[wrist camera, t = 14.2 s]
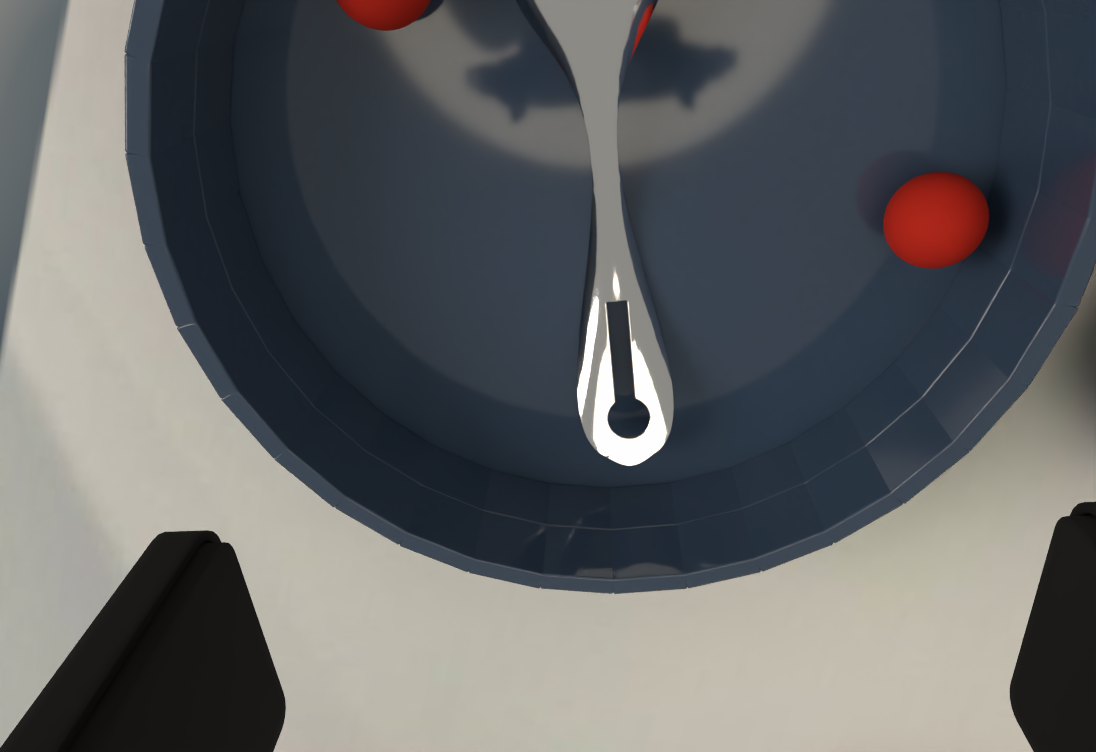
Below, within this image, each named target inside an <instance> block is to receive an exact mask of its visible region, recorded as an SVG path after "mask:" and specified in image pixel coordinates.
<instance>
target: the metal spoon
mask: <svg viewBox="0 0 1096 752" xmlns="http://www.w3.org/2000/svg"><path fill="white" fill-rule="evenodd" d="M515 1H516V3H517V5H518V7H519V8H520V10H521V12H522V13H523V15H524V17H525V18H526V20H527V21H528V23H529V24H530V25H531V27H532V28H533V30H534V31H535V32H536V34H537V35H538V36H539V38H540V39H541V41H542V42H543V43H544V45H545V46H546V47H547V49H548V50H549V51H550V53H551V54H552V55H553V57H554V58H555V60H556V61H557V62H558V64H559V65H560V67H561V68H562V70H563V72H564V73H565V75H566V77H567V78H568V80H569V82H570V84H571V86H572V88H573V90H574V93H575V95H576V97H577V100H578V103H579V105H580V108H581V111H582V115H583V118H584V122H585V126H586V130H587V135H588V141H589V147H590V157H591V170H592V207H591V225H590V237H589V248H588V258H587V268H586V277H585V286H584V295H583V304H582V314H581V324H580V335H579V348H578V367H577V391H578V405H579V413H580V418H581V423H582V426H583V429H584V432H585V434H586V437H587V439H588V441H589V442H590V444H591V445H592V446H593V448H594V449H595V450H596V451H597V452H599V453H600V454H601V455H603V456H605V457H607V458H610V459H611V460H613V461H615V462H617V463H620V464H623V465H629V466H630V465H636V464H639V463H641V462H643V461H644V460H646V459H647V458H649V457H650V456H651V455H653V454H654V453H656V452H657V451H658V450H660V449H661V448H662V446H663V445H664V444H665V442H666V441H667V439H668V437H669V434H670V431H671V427H672V422H673V412H674V400H673V388H672V380H671V373H670V368H669V362H668V358H667V353H666V349H665V344H664V340H663V336H662V332H661V328H660V325H659V321H658V317H657V314H656V310H655V306H654V303H653V300H652V296H651V293H650V289H649V286H648V282H647V279H646V276H645V272H644V269H643V265H642V262H641V258H640V255H639V251H638V248H637V244H636V241H635V237H634V233H633V230H632V226H631V222H630V218H629V214H628V210H627V206H626V201H625V197H624V192H623V187H622V181H621V175H620V168H619V160H618V149H617V119H618V108H619V101H620V95H621V90H622V86H623V82H624V78H625V75H626V72H627V69H628V66H629V64H630V61H631V58H632V56H633V54H634V51H635V49H636V47H637V45H638V43H639V41H640V39H641V36H642V34H643V32H644V30H645V28H646V26H647V24H648V22H649V20H650V18H651V16H652V14H653V11H654V9H655V7H656V4H657V2H658V0H515ZM620 301H626V303H627V315H628V327H629V339H630V351H631V363H632V375H633V387H634V398H635V399H636V400H638V401H640V402H642V403H643V404H644V405H645V406H646V408H647V410H648V412H649V421H648V424H647V426H646V428H645V429H644V430H643V431H642V432H640V433H639V434H637V435H633V436H624V435H621V434H619V433H617V432H616V431H615V430H614V429H613V428H612V427H611V425H610V423H609V419H608V416H609V412H610V409H611V407H612V406H613V405H614V404H615V403H616V397H615V386H614V375H613V364H612V353H611V342H610V330H609V319H608V308H607V303H608V302H620Z"/></svg>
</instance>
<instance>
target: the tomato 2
mask: <svg viewBox="0 0 1096 752" xmlns="http://www.w3.org/2000/svg"><path fill="white" fill-rule="evenodd" d="M988 223H989V209H988V205H987V202H986V199H985V197H984V195H983V193H982V192H981V190H980V189H979V188H978V187H977V186H976V185H975V184H974V183H973V182H971V181H970V180H969V179H967V178H965V177H963V176H961V175H958V174H955V173H950V172H931V173H926V174H923V175H920V176H917V177H915V178H913V179H911V180H909V181H908V182H906V183H905V184H904V185H902V186H901V187H900V188H899V189H898V190H897V191H896V192H895V194H894V195H893V196H892V198H891V199H890V201H889V203H888V205H887V207H886V210H885V214H884V220H883V229H884V234H885V238H886V241H887V243H888V245H889V247H890V248H891V249H892V251H893V252H894V253H895V254H896V255H897V256H898V257H899V258H900V259H902V260H903V261H905V262H907V263H909V264H911V265H914V266H917V267H921V268H928V269H935V268H943V267H947V266H950V265H953V264H956V263H958V262H960V261H962V260H963V259H965V258H966V257H968V256H969V255H970V254H971V253H972V252H973V251H974V250H975V249H976V248H977V247H978V246H979V244H980V243H981V242H982V240H983V238H984V236H985V233H986V231H987V227H988Z"/></svg>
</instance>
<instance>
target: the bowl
mask: <svg viewBox="0 0 1096 752" xmlns="http://www.w3.org/2000/svg"><path fill="white" fill-rule="evenodd" d="M125 53H127V54H125V151H126V152H127V153H126V160H127V165H128V170H129V175H130V180H131V185H132V190H133V195H134V200H135V205H136V210H137V215H138V220H139V225H140V230H141V235H142V240H143V244H145V250H146V252H147V254H148V257H149V259H150V262H151V264H152V267H153V269H154V272H155V274H156V277H157V279H158V282H159V284H160V287H161V289H162V292H163V294H164V297H165V299H166V302H167V304H168V307H169V309H170V312H171V314H172V317H173V319H174V322H175V324H176V326H178V328H177V329H178V331H179V332H180V334H181V336H182V337H183V339H184V340H185V342H186V344H187V345H188V347H189V348H190V350H191V352H192V353H193V355H194V356H195V358H196V360H197V361H198V363H199V364H200V366H201V368H202V369H203V371H204V373H205V374H206V376H207V377H208V379H209V381H210V382H211V384H212V385H213V387H214V389H215V390H216V392H217V393H218V395H219V397H220V398H222V401H223V402H224V403H225V404H226V405H227V407H228V408H229V409H230V410H231V411H232V412H233V413H234V414H235V416H236V417H237V418H238V419H239V420H240V421H241V422H242V423H243V425H244V426H245V427H246V428H247V429H248V430H249V431H250V432H251V434H252V435H253V436H254V437H255V438H256V439H257V440H258V442H259V443H260V444H261V445H262V446H263V447H264V448H265V449H266V451H267V452H268V453H269V454H270V455H271V456H272V457H273V458H275V460H276V461H277V462H278V463H279V464H281V465H282V466H283V467H284V468H286V469H287V470H288V471H289V472H290V473H292V474H293V475H294V476H295V477H297V478H298V479H299V480H300V481H302V482H303V483H304V484H305V485H306V486H308V487H309V488H310V489H311V490H313V491H314V492H315V493H316V494H318V495H319V496H320V497H321V498H322V499H324V500H325V501H326V502H327V503H329V504H330V505H331V506H332V507H335V508H336V509H338V510H339V511H341V512H343V513H345V514H346V515H348V516H350V517H351V518H353V519H355V520H357V521H358V522H360V523H362V524H364V525H365V526H367V527H369V528H370V529H372V530H374V531H376V532H377V533H379V534H381V535H382V536H384V537H386V538H388V539H389V540H391V541H393V542H395V543H396V544H400V546H402V547H404V548H407V549H409V550H412V551H414V552H417V553H420V554H422V555H425V556H427V557H430V558H432V559H435V560H438V561H440V562H443V563H445V564H448V565H450V566H453V567H455V568H458V569H461V570H463V571H466V572H468V571H469V573H473V574H477V575H481V576H486V577H490V578H495V579H499V580H504V581H508V582H512V583H517V584H521V585H526V586H530V587H535V588H540V587H541V588H542V589H555V590H568V591H582V592H595V593H609V594H611V593H614V594H620V593H634V592H648V591H662V590H675V589H686V588H687V587H688V588H692V587H697V586H701V585H705V584H710V583H714V582H719V581H723V580H728V579H732V578H737V577H741V576H746V575H750V574H755V573H759V572H760V571H765V570H768V569H771V568H773V567H776V566H778V565H781V564H783V563H786V562H789V561H791V560H794V559H796V558H799V557H802V556H804V555H807V554H809V553H812V552H815V551H817V550H820V549H822V548H825V547H828V546H830V545H832V544H833V542H834V543H836V542H838V541H840V540H842V539H843V538H845V537H847V536H849V535H850V534H852V533H854V532H856V531H857V530H859V529H861V528H863V527H864V526H866V525H868V524H870V523H871V522H873V521H875V520H877V519H878V518H880V517H882V516H884V515H885V514H887V513H889V512H891V511H892V510H894V509H896V508H898V507H899V506H901V505H902V504H903V503H904V504H905V503H906V502H908V501H909V500H910V499H911V498H913V497H914V496H915V495H916V494H918V493H919V492H920V491H921V490H923V489H924V488H925V487H926V486H928V485H929V484H930V483H931V482H933V481H934V480H935V479H936V478H938V477H939V476H940V475H941V474H943V473H944V472H945V471H946V470H948V469H949V468H950V467H951V466H953V465H954V464H955V463H956V462H958V461H959V460H960V459H961V458H963V457H964V456H965V455H966V454H968V453H969V451H971V450H972V449H973V448H974V447H975V446H976V444H977V443H978V442H979V441H980V440H981V439H982V438H983V437H984V436H985V434H986V433H987V432H988V431H989V430H990V429H991V428H992V427H993V426H994V424H995V423H996V422H997V421H998V420H999V419H1000V418H1001V417H1002V416H1003V415H1004V413H1005V412H1006V411H1007V410H1008V409H1009V408H1010V407H1011V406H1012V405H1013V403H1014V402H1015V401H1016V400H1017V399H1018V398H1019V397H1020V396H1021V395H1022V393H1023V392H1024V391H1025V390H1026V389H1027V388H1028V386H1029V385H1030V384H1031V382H1032V381H1033V379H1034V377H1035V376H1036V374H1037V373H1038V371H1039V370H1040V368H1041V366H1042V365H1043V363H1044V362H1045V360H1046V359H1047V357H1048V355H1049V354H1050V352H1051V351H1052V349H1053V347H1054V346H1055V344H1056V343H1057V341H1058V340H1059V338H1060V336H1061V335H1062V333H1063V332H1064V330H1065V328H1066V327H1067V325H1068V324H1069V322H1070V321H1071V319H1072V317H1073V316H1074V314H1075V313H1076V311H1077V309H1078V308H1077V307H1078V306H1079V304H1080V301H1081V299H1082V296H1083V294H1084V291H1085V289H1086V287H1087V284H1088V282H1089V279H1090V277H1091V274H1092V272H1093V269H1094V267H1095V264H1096V0H658V2H657V4H656V7H655V9H654V11H653V14H652V16H651V18H650V20H649V22H648V24H647V26H646V28H645V30H644V32H643V34H642V36H641V39H640V41H639V43H638V45H637V47H636V49H635V51H634V54H633V56H632V58H631V61H630V64H629V66H628V69H627V72H626V75H625V78H624V82H623V86H622V90H621V95H620V101H619V108H618V119H617V149H618V160H619V168H620V175H621V181H622V187H623V192H624V197H625V201H626V206H627V210H628V214H629V218H630V222H631V226H632V230H633V233H634V237H635V241H636V244H637V248H638V251H639V255H640V258H641V262H642V265H643V269H644V272H645V276H646V279H647V282H648V286H649V289H650V293H651V296H652V300H653V303H654V306H655V310H656V314H657V317H658V321H659V325H660V328H661V332H662V336H663V340H664V344H665V349H666V353H667V358H668V362H669V368H670V373H671V380H672V388H673V400H674V412H673V422H672V427H671V431H670V434H669V437H668V439H667V441H666V442H665V444H664V445H663V446H662V448H661V449H660V450H658V451H657V452H656V453H654V454H653V455H651V456H650V457H649V458H647V459H646V460H644V461H643V462H641V463H639V464H636V465H630V466H629V465H623V464H620V463H617V462H615V461H613V460H611V459H610V458H607V457H605V456H603V455H601V454H600V453H599V452H597V451H596V450H595V449H594V448H593V446H592V445H591V444H590V442H589V441H588V439H587V437H586V434H585V432H584V429H583V426H582V423H581V418H580V413H579V405H578V391H577V367H578V348H579V335H580V324H581V314H582V304H583V295H584V286H585V277H586V268H587V258H588V248H589V237H590V225H591V207H592V170H591V157H590V147H589V141H588V135H587V130H586V126H585V122H584V118H583V115H582V111H581V108H580V105H579V103H578V100H577V97H576V95H575V93H574V90H573V88H572V86H571V84H570V82H569V80H568V78H567V77H566V75H565V73H564V72H563V70H562V68H561V67H560V65H559V64H558V62H557V61H556V60H555V58H554V57H553V55H552V54H551V53H550V51H549V50H548V49H547V47H546V46H545V45H544V43H543V42H542V41H541V39H540V38H539V36H538V35H537V34H536V32H535V31H534V30H533V28H532V27H531V25H530V24H529V23H528V21H527V20H526V18H525V17H524V15H523V13H522V12H521V10H520V8H519V7H518V5H517V3H516V1H515V0H430V3H429V5H428V6H427V8H426V10H425V11H424V12H423V13H422V15H421V16H420V17H419V18H418V19H417V20H415V21H414V22H413V23H411V24H409V25H408V26H406V27H403V28H401V29H397V30H391V31H382V30H375V29H371V28H368V27H366V26H363V25H361V24H360V23H358V22H356V21H355V20H353V19H352V18H351V17H350V16H349V15H347V14H346V12H345V11H344V10H343V9H342V8H341V7H340V5H339V4H338V2H337V1H336V0H135V1H134V6H133V11H132V16H131V21H130V26H129V31H128V36H127V41H126V46H125ZM931 172H950V173H955V174H958V175H961V176H963V177H965V178H967V179H969V180H970V181H971V182H973V183H974V184H975V185H976V186H977V187H978V188H979V189H980V190H981V192H982V193H983V195H984V197H985V199H986V202H987V205H988V209H989V223H988V227H987V231H986V233H985V236H984V238H983V240H982V242H981V243H980V244H979V246H978V247H977V248H976V249H975V250H974V251H973V252H972V253H971V254H970V255H969V256H968V257H966V258H965V259H963V260H962V261H960V262H958V263H956V264H953V265H950V266H947V267H943V268H935V269H928V268H921V267H917V266H914V265H911V264H909V263H907V262H905V261H903V260H902V259H900V258H899V257H898V256H897V255H896V254H895V253H894V252H893V251H892V249H891V248H890V247H889V245H888V243H887V241H886V238H885V234H884V229H883V220H884V214H885V210H886V207H887V205H888V203H889V201H890V199H891V198H892V196H893V195H894V194H895V192H896V191H897V190H898V189H899V188H900V187H901V186H902V185H904V184H905V183H906V182H908V181H909V180H911V179H913V178H915V177H917V176H920V175H923V174H926V173H931ZM607 308H608V319H609V330H610V342H611V353H612V364H613V375H614V386H615V397H616V403H615V404H614V405H613V406H612V407H611V409H610V412H609V416H608V419H609V423H610V425H611V427H612V428H613V429H614V430H615V431H616V432H617V433H619V434H621V435H624V436H633V435H637V434H639V433H640V432H642V431H643V430H644V429H645V428H646V426H647V424H648V421H649V412H648V410H647V408H646V406H645V405H644V404H643V403H642V402H640V401H638V400H636V399H635V398H634V387H633V375H632V363H631V351H630V339H629V327H628V315H627V303H626V301H620V302H608V303H607Z"/></svg>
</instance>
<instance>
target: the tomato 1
mask: <svg viewBox="0 0 1096 752" xmlns="http://www.w3.org/2000/svg"><path fill="white" fill-rule="evenodd" d="M336 1H337V2H338V4H339V5H340V7H341V8H342V9H343V10H344V11H345V12H346V14H347V15H349V16H350V17H351V18H352V19H353V20H355V21H356V22H358V23H360V24H361V25H363V26H366V27H368V28H371V29H375V30H382V31H391V30H397V29H401V28H403V27H406V26H408V25H409V24H411V23H413V22H414V21H415V20H417V19H418V18H419V17H420V16H421V15H422V13H423V12H424V11H425V10H426V8H427V6H428V5H429V3H430V0H336Z"/></svg>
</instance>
